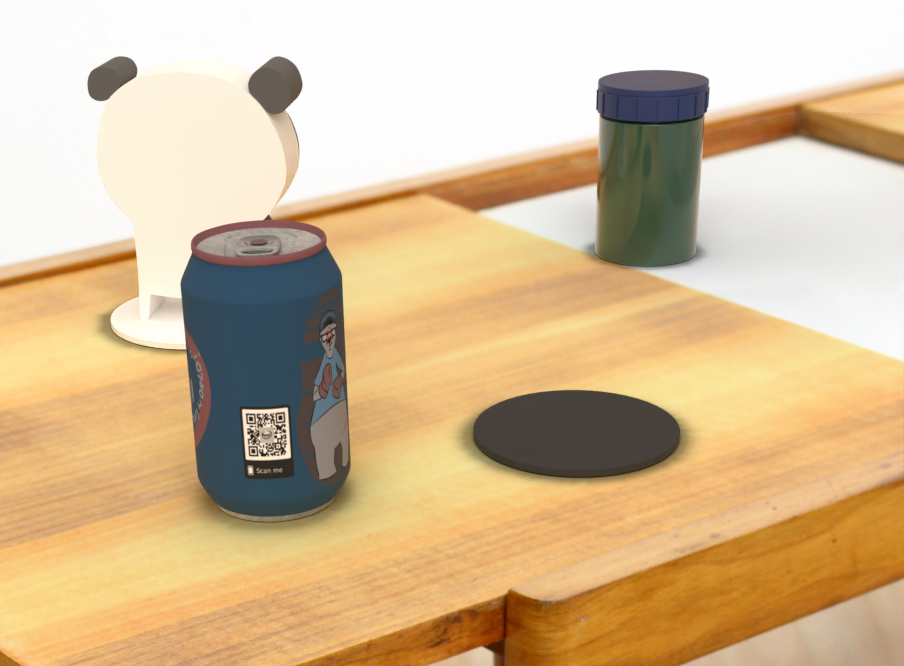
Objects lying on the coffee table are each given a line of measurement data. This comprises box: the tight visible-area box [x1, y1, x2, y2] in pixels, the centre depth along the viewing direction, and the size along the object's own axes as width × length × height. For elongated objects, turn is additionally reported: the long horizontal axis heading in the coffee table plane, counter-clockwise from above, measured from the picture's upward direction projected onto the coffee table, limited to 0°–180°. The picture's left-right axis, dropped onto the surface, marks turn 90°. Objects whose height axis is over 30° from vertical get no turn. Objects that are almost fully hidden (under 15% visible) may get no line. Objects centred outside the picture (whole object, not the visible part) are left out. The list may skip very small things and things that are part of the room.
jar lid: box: [595, 69, 710, 122], centre depth 98 cm, size 7×7×2 cm
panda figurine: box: [87, 55, 304, 350], centre depth 90 cm, size 12×11×15 cm
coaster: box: [472, 389, 681, 478], centre depth 76 cm, size 10×10×1 cm
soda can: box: [180, 219, 352, 523], centre depth 68 cm, size 7×7×12 cm
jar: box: [594, 113, 706, 267], centre depth 100 cm, size 7×7×11 cm
